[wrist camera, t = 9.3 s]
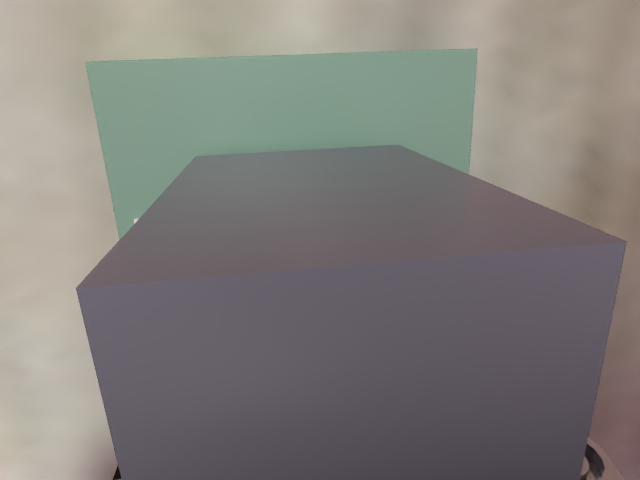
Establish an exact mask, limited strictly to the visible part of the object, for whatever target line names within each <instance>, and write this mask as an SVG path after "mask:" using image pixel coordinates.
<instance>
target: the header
mask: <svg viewBox="0 0 640 480" xmlns="http://www.w3.org/2000/svg"><path fill="white" fill-rule="evenodd" d="M477 51H478V49H448V50H419V51H389V52H360V53H330V54H301V55H271V56H241V57H212V58H182V59H153V60H123V61H94V62H85V64H86V69H87V74H88V80H89V85H90V90H91V95H92V100H93V105H94V110H95V115H96V121H97V126H98V131H99V136H100V141H101V146H102V151H103V156H104V162H105V167H106V172H107V177H108V182H109V187H110V192H111V197H112V203H113V208H114V213H115V218H116V223H117V228H118V233H119V238H120V239H121V238H122V237H123V236H124V235H125V234H126V233H127V231H128V230H129V229H130V228H131V227H132V226H133V225H134V224H135V223H136V222H137V220H138V219H139V218H140V217H141V216H142V215H143V214H144V213H145V212H146V211H147V209H148V208H149V207H150V206H151V205H152V204H153V203H154V202H155V201H156V199H157V198H158V197H159V196H160V195H161V194H162V193H163V192H164V191H165V190H166V188H167V187H168V186H169V185H170V184H171V183H172V182H173V181H174V180H175V179H176V177H177V176H178V175H179V174H180V173H181V172H182V171H183V170H184V169H185V167H186V166H187V165H188V164H189V163H190V162H191V161H192V160H193V159H194V158H195V156H206V155H224V154H242V153H259V152H277V151H295V150H313V149H330V148H348V147H366V146H383V145H401V146H403V147H405V148H408V149H410V150H412V151H415V152H417V153H420V154H422V155H424V156H427V157H429V158H431V159H434V160H436V161H438V162H441V163H443V164H445V165H448V166H450V167H452V168H455V169H457V170H459V171H462V172H464V173H467V174H469V165H470V151H471V137H472V123H473V108H474V94H475V80H476V65H477Z"/></svg>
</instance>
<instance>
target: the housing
mask: <svg viewBox="0 0 640 480" xmlns="http://www.w3.org/2000/svg"><path fill="white" fill-rule="evenodd" d="M625 247H626V241H624V240H622V239H619V238H617V237H615V236H612V235H610V234H608V233H605V232H603V231H600V230H598V229H596V228H593V227H591V226H589V225H586V224H584V223H582V222H579V221H577V220H575V219H572V218H570V217H568V216H565V215H563V214H561V213H558V212H556V211H553V210H551V209H549V208H546V207H544V206H542V205H539V204H537V203H535V202H532V201H530V200H528V199H525V198H523V197H521V196H518V195H516V194H514V193H511V192H509V191H506V190H504V189H502V188H499V187H497V186H495V185H492V184H490V183H488V182H485V181H483V180H481V179H478V178H476V177H474V176H471V175H469V174H467V173H464V172H462V171H459V170H457V169H455V168H452V167H450V166H448V165H445V164H443V163H441V162H438V161H436V160H434V159H431V158H429V157H427V156H424V155H422V154H420V153H417V152H415V151H412V150H410V149H408V148H405V147H403V146H401V145H383V146H366V147H348V148H330V149H313V150H295V151H277V152H259V153H242V154H224V155H206V156H195V158H194V159H193V160H192V161H191V162H190V163H189V164H188V165H187V166H186V167H185V169H184V170H183V171H182V172H181V173H180V174H179V175H178V176H177V177H176V179H175V180H174V181H173V182H172V183H171V184H170V185H169V186H168V187H167V188H166V190H165V191H164V192H163V193H162V194H161V195H160V196H159V197H158V198H157V199H156V201H155V202H154V203H153V204H152V205H151V206H150V207H149V208H148V209H147V211H146V212H145V213H144V214H143V215H142V216H141V217H140V218H139V219H138V220H137V222H136V223H135V224H134V225H133V226H132V227H131V228H130V229H129V230H128V231H127V233H126V234H125V235H124V236H123V237H122V238H121V239H120V240H119V241H118V242H117V244H116V245H115V246H114V247H113V248H112V249H111V250H110V251H109V252H108V254H107V255H106V256H105V257H104V258H103V259H102V260H101V261H100V262H99V263H98V265H97V266H96V267H95V268H94V269H93V270H92V271H91V272H90V273H89V274H88V276H87V277H86V278H85V279H84V280H83V281H82V282H81V283H80V284H79V285H78V287H77V288H76V290H77V295H78V299H79V303H80V307H81V311H82V315H83V320H84V324H85V328H86V332H87V336H88V341H89V345H90V349H91V353H92V357H93V362H94V366H95V370H96V374H97V378H98V382H99V387H100V391H101V395H102V399H103V403H104V408H105V412H106V416H107V420H108V424H109V429H110V433H111V437H112V441H113V445H114V450H115V454H116V458H117V462H118V466H119V470H120V475H121V479H122V480H580V476H581V471H582V466H583V461H584V456H585V451H586V445H587V440H588V435H589V430H590V425H591V420H592V415H593V410H594V405H595V400H596V395H597V390H598V384H599V379H600V374H601V369H602V364H603V359H604V354H605V349H606V344H607V339H608V334H609V329H610V324H611V318H612V313H613V308H614V303H615V298H616V293H617V288H618V283H619V278H620V273H621V268H622V263H623V257H624V252H625Z"/></svg>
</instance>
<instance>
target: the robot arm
mask: <svg viewBox="0 0 640 480" xmlns="http://www.w3.org/2000/svg"><path fill="white" fill-rule="evenodd" d="M113 480H122V479H121V475H120V470H119V466H118V467H117V470H116V472H115V475H114V478H113ZM580 480H626V479H625V478H624V476H623V475H622V473H621V472H620V471H619V469H618V468H617V466H616V465H615V463H614V462H613V460H612V459H611V457H610V456H609V455H608V454H607V453H606V452H605V451H604V449H603V448H602V447H601V446H600V445H598V444H597V443H596V442H594V441H593V440H591V439H590V438H589V437H588V440H587V445H586V451H585V456H584V461H583V466H582V471H581V476H580Z"/></svg>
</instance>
